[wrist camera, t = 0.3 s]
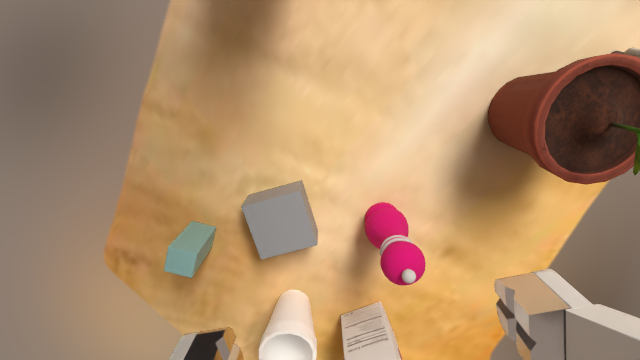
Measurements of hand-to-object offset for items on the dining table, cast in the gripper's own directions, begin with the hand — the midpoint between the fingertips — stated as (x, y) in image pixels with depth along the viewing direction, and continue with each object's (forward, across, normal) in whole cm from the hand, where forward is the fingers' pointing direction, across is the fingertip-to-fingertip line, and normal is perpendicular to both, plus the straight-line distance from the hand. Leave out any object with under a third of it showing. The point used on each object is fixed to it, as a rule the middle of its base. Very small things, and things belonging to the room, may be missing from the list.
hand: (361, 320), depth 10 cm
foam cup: (+46, +16, +34) cm, 60 cm away
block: (+46, +29, +15) cm, 57 cm away
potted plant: (+49, -34, +6) cm, 60 cm away
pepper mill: (+48, -4, +20) cm, 52 cm away
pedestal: (+47, +13, +15) cm, 51 cm away
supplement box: (+47, +3, +42) cm, 63 cm away
